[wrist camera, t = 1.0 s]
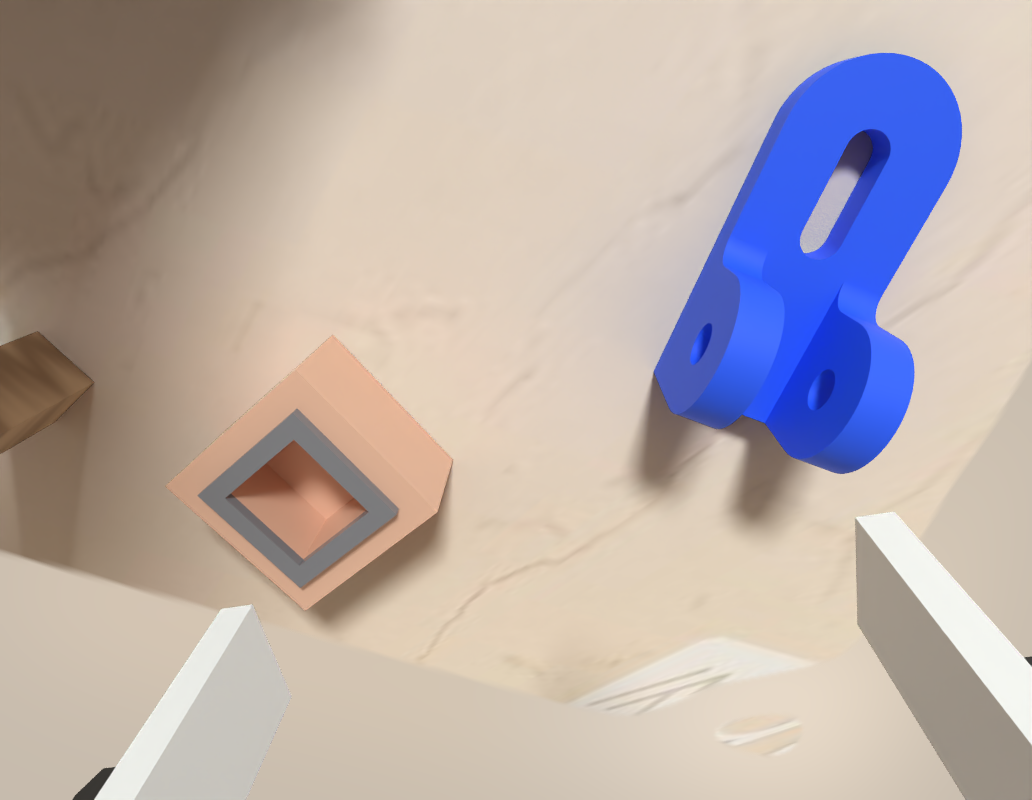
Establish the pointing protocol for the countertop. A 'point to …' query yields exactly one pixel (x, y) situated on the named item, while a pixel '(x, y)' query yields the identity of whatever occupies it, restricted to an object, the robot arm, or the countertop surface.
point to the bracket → (818, 268)
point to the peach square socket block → (317, 476)
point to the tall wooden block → (35, 387)
